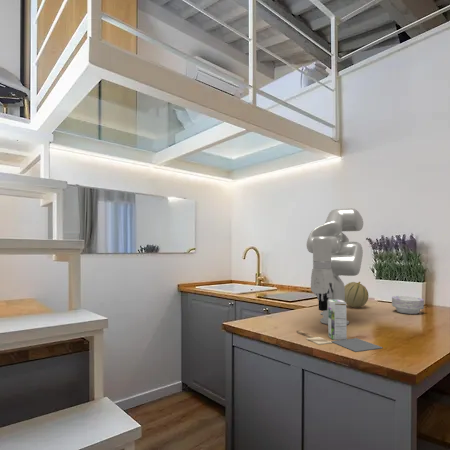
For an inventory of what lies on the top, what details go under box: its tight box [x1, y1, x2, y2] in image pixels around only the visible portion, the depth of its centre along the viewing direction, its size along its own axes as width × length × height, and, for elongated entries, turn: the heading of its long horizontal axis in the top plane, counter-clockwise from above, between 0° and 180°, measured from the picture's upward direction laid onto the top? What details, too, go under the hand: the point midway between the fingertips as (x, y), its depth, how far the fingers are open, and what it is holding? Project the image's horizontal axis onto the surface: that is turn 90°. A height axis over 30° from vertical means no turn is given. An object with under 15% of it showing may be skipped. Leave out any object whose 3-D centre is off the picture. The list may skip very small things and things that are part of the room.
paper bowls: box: [391, 295, 425, 315], centre depth 185 cm, size 15×15×8 cm
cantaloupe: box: [344, 281, 369, 309], centre depth 200 cm, size 15×15×15 cm
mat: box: [330, 337, 383, 353], centre depth 125 cm, size 13×12×1 cm
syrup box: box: [327, 300, 348, 341], centre depth 135 cm, size 6×6×14 cm
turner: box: [296, 330, 333, 346], centre depth 134 cm, size 18×6×1 cm, turn 21°
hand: (323, 310), depth 143 cm, fingers closed
